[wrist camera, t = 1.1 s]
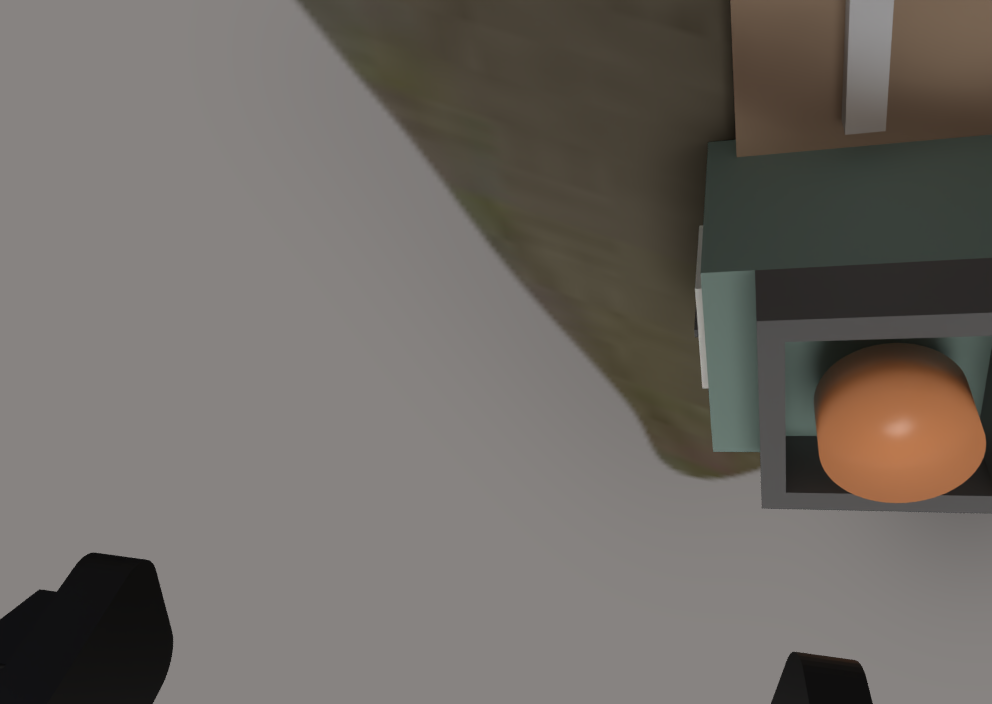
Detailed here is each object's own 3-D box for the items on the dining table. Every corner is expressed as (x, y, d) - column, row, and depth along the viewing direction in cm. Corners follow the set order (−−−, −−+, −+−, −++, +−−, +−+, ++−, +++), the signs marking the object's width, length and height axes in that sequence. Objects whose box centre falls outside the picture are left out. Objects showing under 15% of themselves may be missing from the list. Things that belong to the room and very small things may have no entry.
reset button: (814, 345, 24) (820, 391, 22) (978, 340, 23) (995, 389, 21) (812, 452, 26) (817, 501, 24) (961, 453, 25) (976, 504, 23)
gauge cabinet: (695, 143, 32) (680, 324, 23) (1016, 113, 29) (1138, 307, 20) (706, 301, 36) (696, 506, 27) (989, 289, 33) (1081, 515, 24)
